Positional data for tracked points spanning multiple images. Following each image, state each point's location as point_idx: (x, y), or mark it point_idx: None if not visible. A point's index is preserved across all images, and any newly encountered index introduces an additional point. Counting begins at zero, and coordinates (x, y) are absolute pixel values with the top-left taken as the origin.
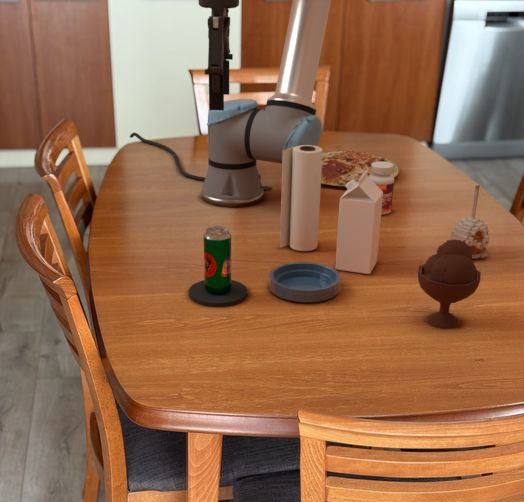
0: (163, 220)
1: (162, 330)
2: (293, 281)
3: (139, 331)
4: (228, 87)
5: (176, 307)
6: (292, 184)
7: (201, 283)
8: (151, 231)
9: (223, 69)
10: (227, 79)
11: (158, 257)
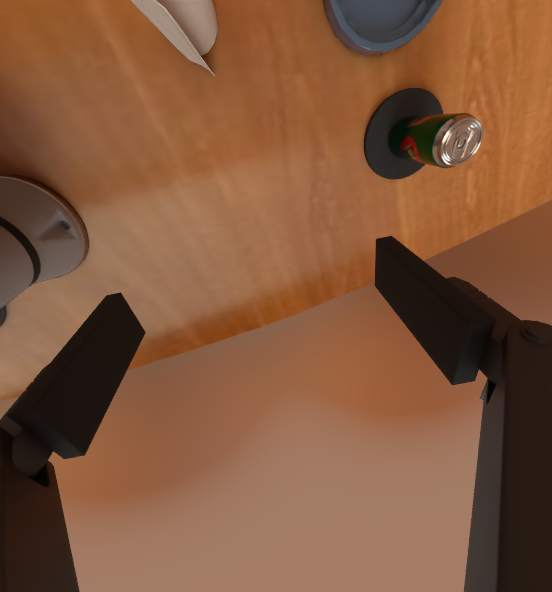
0: (181, 284)
1: (493, 175)
2: (360, 6)
3: (491, 199)
4: (110, 310)
5: (437, 179)
6: (184, 10)
7: (383, 168)
8: (222, 284)
9: (82, 387)
10: (95, 337)
11: (298, 249)
